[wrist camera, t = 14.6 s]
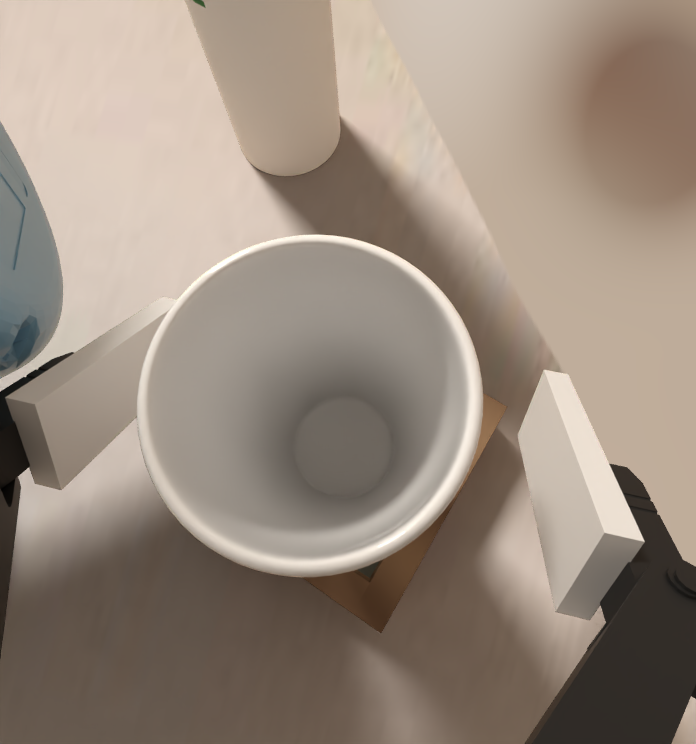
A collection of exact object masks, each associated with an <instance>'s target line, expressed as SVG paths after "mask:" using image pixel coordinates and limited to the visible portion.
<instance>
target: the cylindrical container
mask: <svg viewBox="0 0 696 744" xmlns="http://www.w3.org/2000/svg"><path fill="white" fill-rule="evenodd" d="M185 3H186V5H187V8H188V11H189V13H190V16H191V19H192V21H193V24H194V26H195V29H196V32H197V34H198V37H199V40H200V42H201V45H202V48H203V50H204V53H205V55H206V58H207V61H208V63H209V66H210V69H211V71H212V74H213V76H214V79H215V82H216V84H217V87H218V90H219V92H220V95H221V98H222V100H223V103H224V105H225V108H226V111H227V113H228V116H229V119H230V121H231V124H232V126H233V129H234V132H235V134H236V137H237V140H238V142H239V145H240V148H241V150H242V152H243V154H244V155H245V157H246V159H247V160H248V161H249V162H250V163H251V164H252V165H253V166H255V167H256V168H258V169H259V170H261V171H263V172H266V173H268V174H272V175H276V176H295V175H300V174H304V173H307V172H310V171H312V170H314V169H316V168H318V167H319V166H320V165H322V164H323V163H324V162H326V161H327V160H328V158H329V157H330V156H331V155H332V154H333V152H334V151H335V149H336V147H337V145H338V142H339V139H340V132H341V129H340V116H339V103H338V90H337V77H336V64H335V51H334V39H333V26H332V14H331V2H330V0H185Z"/></svg>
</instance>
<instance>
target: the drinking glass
mask: <svg viewBox="0 0 696 744" xmlns="http://www.w3.org/2000/svg"><path fill="white" fill-rule="evenodd" d="M482 417H483V386H482V377H481V371H480V366H479V361H478V358H477V354H476V351H475V347H474V345H473V342H472V340H471V337H470V335H469V332H468V330H467V328H466V326H465V324H464V322H463V320H462V319H461V317H460V315H459V314H458V312H457V311H456V309H455V307H454V306H453V304H452V303H451V302H450V301H449V299H448V298H447V297H446V296H445V294H444V293H443V292H442V291H441V290H440V289H439V288H438V287H437V285H436V284H435V283H434V282H433V281H432V280H431V279H429V278H428V277H427V276H426V275H425V274H424V273H422V272H421V271H420V270H419V269H417V268H416V267H415V266H413V265H412V264H410V263H409V262H407V261H406V260H404V259H402V258H401V257H399V256H397V255H395V254H394V253H392V252H389V251H387V250H385V249H383V248H381V247H378V246H375V245H373V244H370V243H367V242H364V241H360V240H356V239H352V238H347V237H340V236H334V235H297V236H288V237H283V238H278V239H273V240H270V241H266V242H263V243H259V244H256V245H254V246H251V247H249V248H246V249H244V250H242V251H240V252H237V253H235V254H233V255H231V256H229V257H228V258H226V259H224V260H223V261H221V262H219V263H218V264H216V265H215V266H213V267H212V268H211V269H209V270H208V271H207V272H205V273H204V274H203V275H201V276H200V277H199V278H198V279H197V280H196V281H195V282H193V283H192V284H191V285H190V286H189V287H188V288H187V289H186V290H185V292H184V293H183V294H182V295H181V296H180V297H179V298H178V299H177V301H176V302H175V303H174V304H173V306H172V307H171V308H170V310H169V311H168V313H167V314H166V316H165V317H164V319H163V320H162V322H161V324H160V325H159V327H158V329H157V331H156V333H155V335H154V337H153V339H152V341H151V344H150V346H149V349H148V351H147V354H146V357H145V360H144V363H143V367H142V371H141V376H140V380H139V387H138V396H137V425H138V435H139V440H140V446H141V450H142V454H143V457H144V461H145V464H146V467H147V470H148V472H149V475H150V477H151V479H152V482H153V484H154V486H155V487H156V489H157V491H158V493H159V495H160V497H161V498H162V500H163V501H164V503H165V504H166V506H167V507H168V509H169V510H170V511H171V513H172V514H173V515H174V516H175V517H176V519H177V520H178V521H179V522H180V523H181V525H183V526H184V527H185V528H186V529H187V530H188V531H189V532H190V533H191V534H192V535H193V536H194V537H195V538H197V539H198V540H199V541H200V542H202V543H203V544H204V545H206V546H207V547H208V548H210V549H211V550H213V551H215V552H216V553H218V554H220V555H221V556H223V557H225V558H227V559H229V560H231V561H233V562H235V563H237V564H240V565H242V566H245V567H248V568H251V569H254V570H257V571H260V572H265V573H269V574H274V575H280V576H289V577H321V576H332V575H337V574H341V573H346V572H351V571H354V570H357V569H360V568H363V567H366V566H369V565H371V564H374V563H376V562H378V561H381V560H383V559H385V558H387V557H389V556H390V555H392V554H394V553H396V552H397V551H399V550H401V549H402V548H404V547H405V546H407V545H408V544H409V543H411V542H412V541H414V540H415V539H416V538H417V537H419V536H420V535H421V534H422V533H423V532H424V531H425V530H427V529H428V528H429V527H430V526H431V525H432V524H433V523H434V522H435V521H436V519H437V518H438V517H439V516H440V515H441V514H442V513H443V512H444V510H445V509H446V508H447V506H448V505H449V504H450V502H451V501H452V500H453V498H454V497H455V495H456V493H457V492H458V490H459V488H460V487H461V485H462V483H463V481H464V479H465V477H466V475H467V473H468V471H469V468H470V466H471V464H472V461H473V458H474V455H475V452H476V449H477V445H478V441H479V436H480V432H481V425H482Z"/></svg>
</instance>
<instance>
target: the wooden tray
mask: <svg viewBox="0 0 696 744" xmlns="http://www.w3.org/2000/svg"><path fill="white" fill-rule="evenodd" d="M506 408H507V406H505V405H503V404H502V403H500V402H498V401H496V400H495V399H493V398H491V397H489V396H488V395H486V394H484V393H483V417H482V425H481V432H480V436H479V441H478V445H477V449H476V452H475V455H474V458H473V461H472V464H471V466H470V468H469V471H468V473H467V475H466V477H465V479H464V481H463V483H462V485H461V487H460V488H459V490H458V492H457V493H456V495H455V497H454V498H453V500H452V501H451V502H450V504H449V505H448V506H447V508H446V509H445V510H444V512H443V513H442V514H441V515H440V516H439V517H438V518H437V519H436V521H435V522H434V523H433V524H432V525H431V526H430V527H429V528H428V529H427V530H425V531H424V532H423V533H422V534H421V535H420V536H419V537H417V538H416V539H415V540H414V541H412V542H411V543H409V544H408V545H407V546H405V547H404V548H402V549H401V550H399V551H397V552H396V553H394V554H392V555H390V556H389V557H387V558H385V559H383V560H381V561H378V562H376V563H374V564H371V565H369V566H366V567H363V568H360V569H357V570H354V571H351V572H346V573H341V574H337V575H332V576H321V577H302V578H303V579H305V580H306V581H308V582H309V583H310V584H312V585H313V586H315V587H316V588H318V589H319V590H320V591H322V592H323V593H325V594H326V595H327V596H329V597H330V598H332V599H333V600H334V601H336V602H337V603H339V604H340V605H341V606H343V607H344V608H346V609H347V610H349V611H350V612H351V613H353V614H354V615H356V616H357V617H358V618H360V619H361V620H363V621H364V622H365V623H367V624H368V625H370V626H371V627H372V628H374V629H375V630H377V631H378V632H380V633H382V631H383V629H384V627H385V625H386V624H387V622H388V620H389V618H390V616H391V615H392V613H393V611H394V609H395V607H396V606H397V604H398V602H399V600H400V598H401V597H402V595H403V593H404V591H405V589H406V588H407V586H408V584H409V582H410V581H411V579H412V577H413V575H414V573H415V572H416V570H417V568H418V566H419V564H420V563H421V561H422V559H423V557H424V555H425V554H426V552H427V550H428V548H429V546H430V545H431V543H432V541H433V539H434V538H435V536H436V534H437V532H438V530H439V529H440V527H441V525H442V523H443V521H444V520H445V518H446V516H447V514H448V512H449V511H450V509H451V507H452V505H453V503H454V502H455V500H456V498H457V496H458V494H459V493H460V491H461V489H462V487H463V486H464V484H465V482H466V480H467V478H468V477H469V475H470V473H471V471H472V469H473V468H474V466H475V464H476V462H477V460H478V459H479V457H480V455H481V453H482V451H483V450H484V448H485V446H486V444H487V443H488V441H489V439H490V437H491V435H492V434H493V432H494V430H495V428H496V426H497V425H498V423H499V421H500V419H501V417H502V416H503V414H504V412H505V410H506Z"/></svg>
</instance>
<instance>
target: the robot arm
mask: <svg viewBox="0 0 696 744" xmlns="http://www.w3.org/2000/svg"><path fill="white" fill-rule="evenodd" d="M176 301H177V299H171V298H166V297H161V298H159V299H158V300H156V301H155V302H153V303H152V304H150V305H148V306H147V307H145V308H144V309H142V310H141V311H139V312H138V313H136V314H134V315H133V316H131V317H130V318H128V319H127V320H125V321H124V322H122V323H120V324H119V325H117V326H116V327H114V328H113V329H111V330H109V331H108V332H106V333H105V334H103V335H102V336H100V337H99V338H97V339H95V340H94V341H92V342H91V343H89V344H88V345H86V346H85V347H83V348H81V349H80V350H78V351H77V352H75V353H73V352H71V353H68V354H65V355H63V356H60V357H57V358H54V359H52V360H50V361H49V362H47V363H46V364H44V365H42V366H41V367H39V369H38V370H34V371H33V372H31V373H29V374H28V375H27V377H23V378H21V379H20V380H18V381H17V382H15V383H13V384H12V385H10V386H9V387H7V388H5V389H4V390H2V391H1V392H0V657H1V649H2V640H3V632H4V624H5V615H6V607H7V599H8V590H9V582H10V574H11V565H12V557H13V549H14V540H15V532H16V524H17V515H18V507H19V499H20V490H21V486H20V482H19V479H18V476H19V475H20V474H21V473H22V472H23V471H25V470H26V469H27V468H28V467H29V468H30V471H31V474H32V476H33V479H34V482H35V484H39V485H43V486H47V487H51V488H55V489H59V490H62V489H63V488H64V487H65V486H66V485H67V484H68V483H69V482H70V481H71V480H72V479H73V478H74V477H75V476H76V475H77V474H79V473H80V472H81V471H82V470H83V469H84V468H85V467H86V466H87V465H88V464H89V463H90V462H91V461H92V460H93V459H94V458H95V457H96V456H97V455H98V454H99V453H100V452H101V451H102V450H103V449H104V448H105V447H106V446H107V445H108V444H109V443H110V442H111V441H112V440H113V439H114V438H115V437H116V436H117V435H119V434H120V433H121V432H122V431H123V430H124V429H125V428H126V427H127V426H128V425H129V424H130V423H131V422H132V421H133V420H134V419H135V418H136V417H137V396H138V387H139V380H140V376H141V371H142V367H143V363H144V360H145V357H146V354H147V351H148V349H149V346H150V344H151V341H152V339H153V337H154V335H155V333H156V331H157V329H158V327H159V325H160V324H161V322H162V320H163V319H164V317H165V316H166V314H167V313H168V311H169V310H170V308H171V307H172V306H173V304H174V303H175V302H176ZM62 302H63V279H62V272H61V266H60V260H59V255H58V251H57V247H56V243H55V240H54V236H53V233H52V230H51V227H50V225H49V222H48V219H47V217H46V214H45V211H44V209H43V206H42V204H41V202H40V199H39V197H38V194H37V192H36V190H35V187H34V185H33V183H32V181H31V178H30V176H29V174H28V172H27V170H26V168H25V166H24V164H23V162H22V160H21V158H20V156H19V154H18V152H17V150H16V148H15V146H14V145H13V143H12V141H11V139H10V137H9V136H8V134H7V132H6V130H5V128H4V127H3V125H2V123H1V122H0V378H2V377H4V376H6V375H8V374H10V373H12V372H14V371H16V370H18V369H19V368H21V367H23V366H24V365H26V364H27V363H29V362H30V361H31V360H33V359H34V358H35V357H36V356H37V355H38V354H39V353H40V352H41V351H42V350H43V349H44V348H45V346H46V345H47V344H48V343H49V341H50V340H51V338H52V336H53V334H54V332H55V330H56V328H57V326H58V323H59V319H60V315H61V311H62ZM518 440H519V445H520V449H521V454H522V459H523V463H524V468H525V473H526V477H527V482H528V487H529V491H530V496H531V501H532V505H533V510H534V515H535V519H536V524H537V529H538V533H539V538H540V543H541V547H542V552H543V557H544V561H545V566H546V571H547V575H548V580H549V585H550V589H551V594H552V599H553V603H554V608H555V612H558V613H562V614H566V615H570V616H574V617H578V618H582V619H586V620H590V619H591V618H592V616H593V615H594V613H595V612H596V611H597V609H598V608H599V606H600V605H601V608H602V611H603V614H604V618H605V621H606V624H605V625H604V626H603V628H602V629H601V631H600V632H599V633H598V635H597V636H596V637H595V639H594V640H593V641H592V643H591V644H590V645H589V647H588V648H587V651H586V653H585V654H584V656H583V657H582V659H581V660H580V662H579V663H578V665H577V666H576V668H575V669H574V671H573V672H572V674H571V675H570V677H569V678H568V680H567V681H566V683H565V684H564V686H563V687H562V689H561V690H560V692H559V693H558V695H557V696H556V697H555V699H554V700H553V702H552V703H551V705H550V706H549V708H548V709H547V711H546V712H545V714H544V715H543V717H542V718H541V720H540V721H539V723H538V724H537V726H536V727H535V729H534V730H533V732H532V733H531V735H530V736H529V738H528V739H527V741H526V742H525V744H671V743H672V741H673V738H674V736H675V733H676V731H677V728H678V726H679V724H680V721H681V719H682V716H683V714H684V712H685V709H686V707H687V704H688V702H689V699H690V697H691V696H692V697H694V698H696V567H695V566H693V565H691V564H690V563H688V562H686V561H684V560H683V559H682V557H681V555H680V554H679V552H678V550H677V548H676V546H675V544H674V542H673V540H672V538H671V536H670V535H669V533H668V531H667V529H666V527H665V525H664V523H663V521H662V519H661V517H660V515H657V510H656V508H655V506H654V504H653V502H651V501H650V497H649V495H648V493H647V491H646V489H645V487H644V485H643V483H642V482H641V481H640V480H639V479H638V478H637V477H636V476H635V475H634V474H633V473H632V472H631V471H630V470H629V469H628V468H627V467H623V466H618V465H613V464H609V462H608V460H607V458H606V456H605V454H604V452H603V449H602V447H601V445H600V443H599V441H598V438H597V436H596V434H595V432H594V430H593V428H592V425H591V423H590V421H589V419H588V417H587V414H586V412H585V410H584V408H583V406H582V403H581V402H580V399H579V397H578V395H577V393H576V390H575V388H574V386H573V384H572V382H571V379H570V377H569V375H568V374H564V373H559V372H554V371H549V370H544V371H543V373H542V376H541V378H540V381H539V383H538V386H537V388H536V391H535V393H534V396H533V398H532V400H531V403H530V405H529V408H528V410H527V413H526V415H525V418H524V420H523V423H522V425H521V428H520V430H519V433H518Z"/></svg>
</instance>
